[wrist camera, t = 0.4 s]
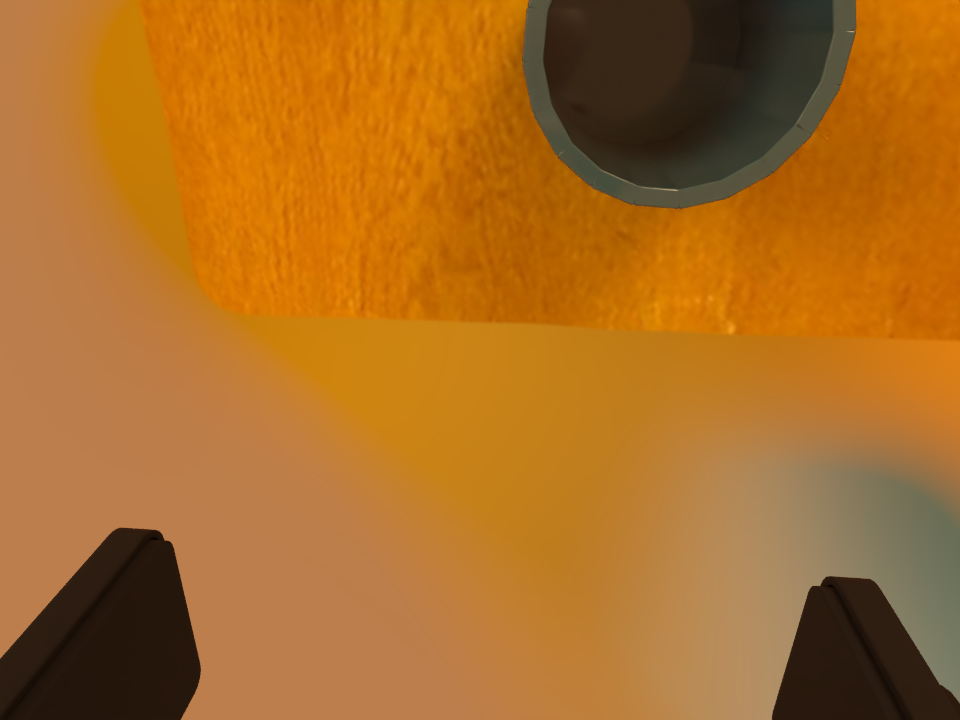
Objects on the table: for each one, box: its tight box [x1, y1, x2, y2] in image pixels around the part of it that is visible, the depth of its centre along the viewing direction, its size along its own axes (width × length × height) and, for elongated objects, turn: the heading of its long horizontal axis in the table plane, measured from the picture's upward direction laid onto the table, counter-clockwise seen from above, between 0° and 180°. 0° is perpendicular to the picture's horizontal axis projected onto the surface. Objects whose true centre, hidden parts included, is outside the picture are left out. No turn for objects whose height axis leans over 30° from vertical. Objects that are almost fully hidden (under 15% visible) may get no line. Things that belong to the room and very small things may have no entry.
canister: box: [522, 0, 856, 209], centre depth 27 cm, size 10×10×12 cm
